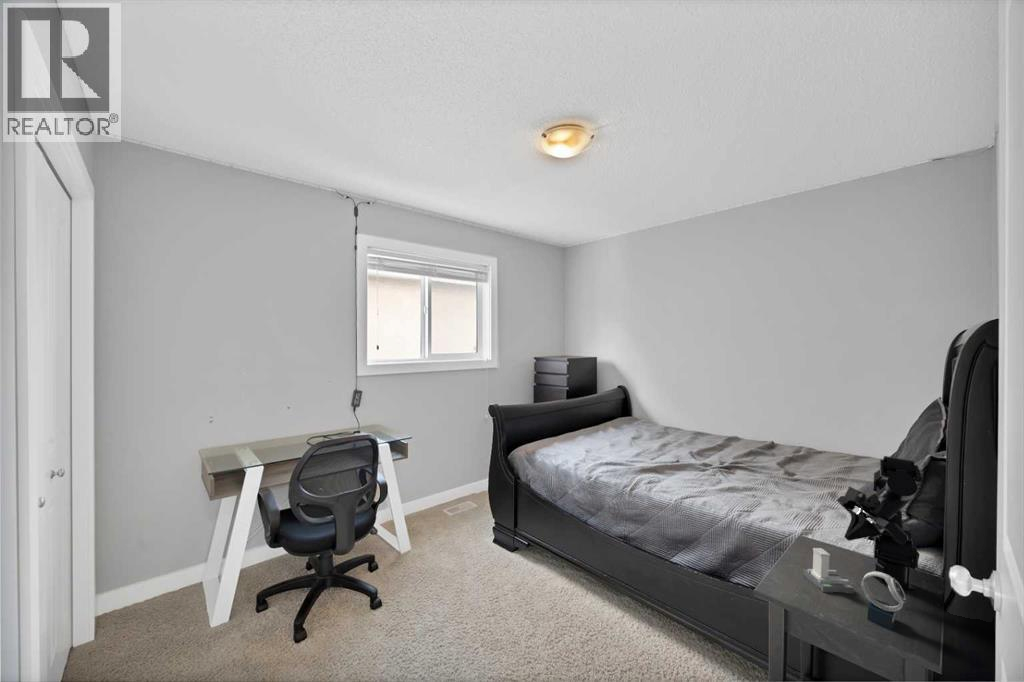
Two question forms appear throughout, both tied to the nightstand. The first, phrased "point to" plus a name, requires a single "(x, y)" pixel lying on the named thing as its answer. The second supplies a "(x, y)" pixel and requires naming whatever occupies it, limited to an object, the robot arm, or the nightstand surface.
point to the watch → (879, 609)
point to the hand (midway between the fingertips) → (846, 538)
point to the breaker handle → (820, 563)
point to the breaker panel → (830, 582)
